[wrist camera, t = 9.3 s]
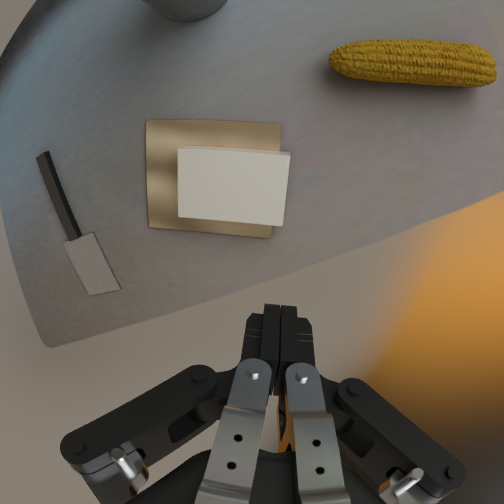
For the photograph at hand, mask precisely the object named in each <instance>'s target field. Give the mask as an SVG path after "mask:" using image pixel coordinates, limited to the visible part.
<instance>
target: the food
mask: <svg viewBox="0 0 504 504" xmlns="http://www.w3.org/2000/svg"><path fill="white" fill-rule="evenodd" d="M329 56H330V59H328V60H329V65H330V66H331V68H333V69H334V70H335V71H336V72H338V73H341V74H342V75H344V76H347V77H351V78H354V79H359V80H362V79H365V80H368V81H375V82H376V81H378V82H391V83H411V84H412V83H413V84H418V85H419V84H423V85H431V86H434V85H436V86H440V85H441V86H444V85H447V86H465V87H482V86H485V85H489V84H490V83H493V82H494V81H495V80H496V78H497V76H496V75H497V72H496V70H495V69H494V68H495V66H496V63H495V61H494V60H493V58H492V56H491V54H490V53H489V52H487V51H486V50H485V49H482V48H481V47H479V46H475V45H472V44H469V43H468V44H466V43H451V42H449V43H448V42H441V41H433V40H422V39H421V40H420V39H419V40H414V39H410V40H400V39H399V40H367V41H362V42H355V43H349V44H348V45H347V44H346V45H344V46H342V47H337V50H333V54H330V55H329Z"/></svg>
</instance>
